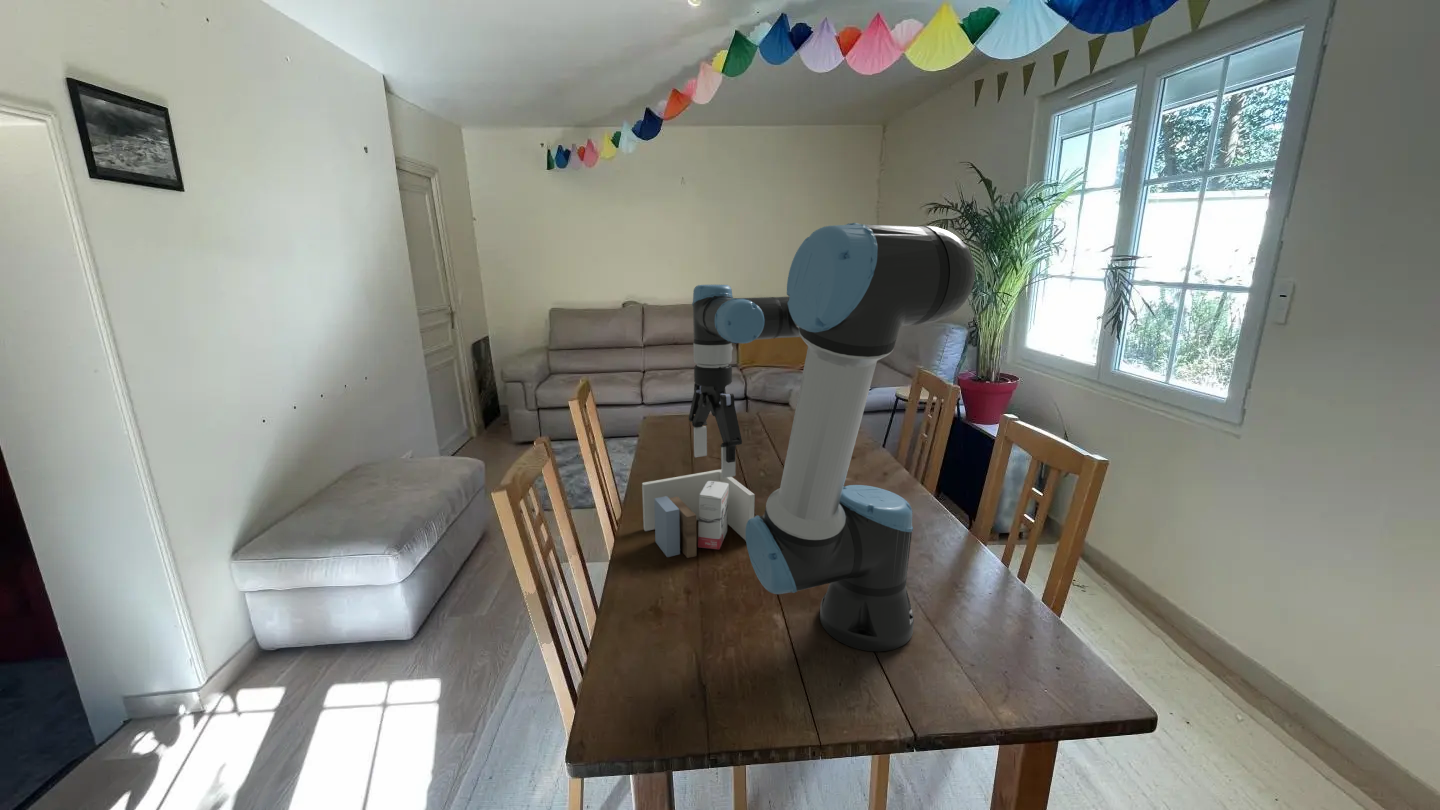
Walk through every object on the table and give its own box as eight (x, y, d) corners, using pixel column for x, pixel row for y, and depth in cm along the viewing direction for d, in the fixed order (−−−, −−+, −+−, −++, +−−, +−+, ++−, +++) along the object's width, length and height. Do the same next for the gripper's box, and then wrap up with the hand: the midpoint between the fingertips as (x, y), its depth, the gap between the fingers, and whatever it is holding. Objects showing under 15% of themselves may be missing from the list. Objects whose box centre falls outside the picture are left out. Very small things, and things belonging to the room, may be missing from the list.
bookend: (696, 555, 119) (696, 515, 116) (687, 557, 118) (686, 517, 115) (678, 534, 127) (677, 496, 125) (669, 536, 126) (668, 498, 124)
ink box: (720, 550, 121) (721, 497, 118) (697, 548, 122) (696, 495, 118) (728, 531, 129) (729, 481, 126) (706, 529, 130) (706, 479, 127)
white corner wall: (753, 542, 124) (754, 494, 121) (668, 562, 116) (667, 511, 113) (721, 512, 138) (721, 469, 135) (643, 528, 130) (642, 482, 127)
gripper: (760, 373, 106) (759, 482, 111) (704, 354, 128) (705, 446, 133) (723, 377, 103) (723, 489, 108) (672, 356, 125) (674, 451, 130)
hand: (713, 465), depth 121 cm, fingers open, 13 cm apart
